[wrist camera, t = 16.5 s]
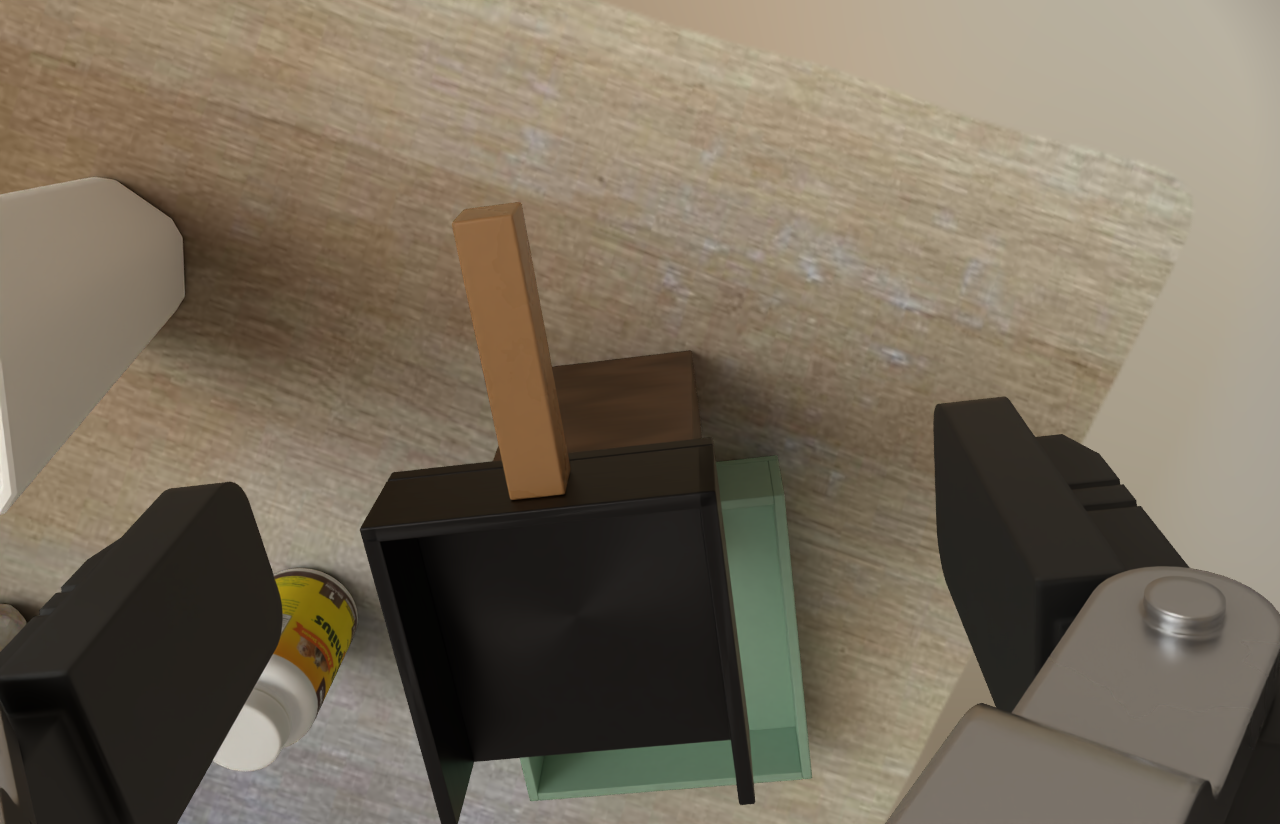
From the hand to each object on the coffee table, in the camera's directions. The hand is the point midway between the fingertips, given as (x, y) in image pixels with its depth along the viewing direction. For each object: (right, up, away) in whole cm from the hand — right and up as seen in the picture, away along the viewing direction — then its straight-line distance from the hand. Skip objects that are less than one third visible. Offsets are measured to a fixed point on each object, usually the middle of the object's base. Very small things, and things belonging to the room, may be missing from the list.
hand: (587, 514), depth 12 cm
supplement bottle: (-17, -9, +45) cm, 49 cm away
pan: (-2, -1, +21) cm, 21 cm away
